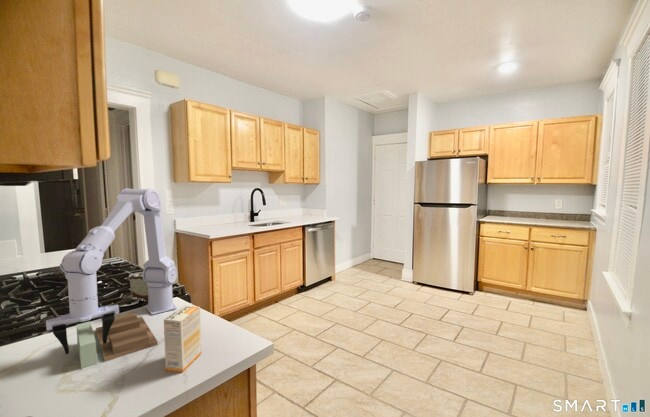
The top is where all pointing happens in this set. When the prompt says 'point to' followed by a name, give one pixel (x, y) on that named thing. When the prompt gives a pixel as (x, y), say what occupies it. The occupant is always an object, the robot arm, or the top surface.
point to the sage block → (86, 345)
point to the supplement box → (182, 338)
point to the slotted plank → (108, 349)
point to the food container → (138, 286)
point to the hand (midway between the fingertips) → (86, 347)
